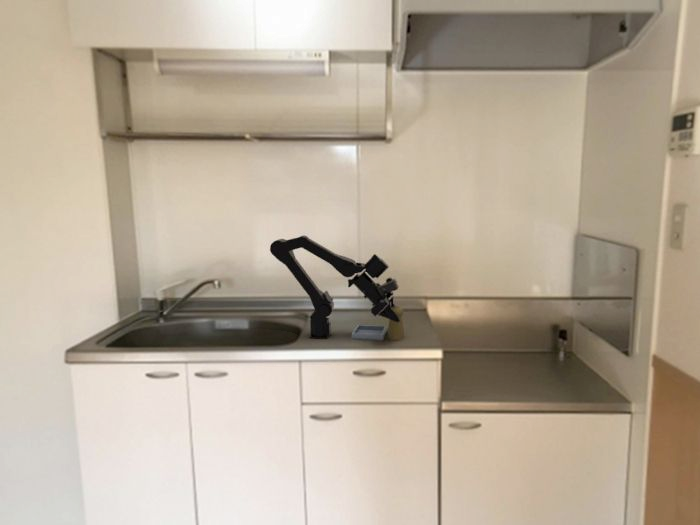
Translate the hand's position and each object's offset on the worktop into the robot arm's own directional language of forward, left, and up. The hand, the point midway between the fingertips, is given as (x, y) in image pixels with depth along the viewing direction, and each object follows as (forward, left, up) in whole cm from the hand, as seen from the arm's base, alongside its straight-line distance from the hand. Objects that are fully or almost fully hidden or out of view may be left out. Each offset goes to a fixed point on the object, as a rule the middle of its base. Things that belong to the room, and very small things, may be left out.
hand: (399, 319), depth 162 cm
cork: (-1, 0, -7) cm, 7 cm away
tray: (-11, +1, -7) cm, 13 cm away
